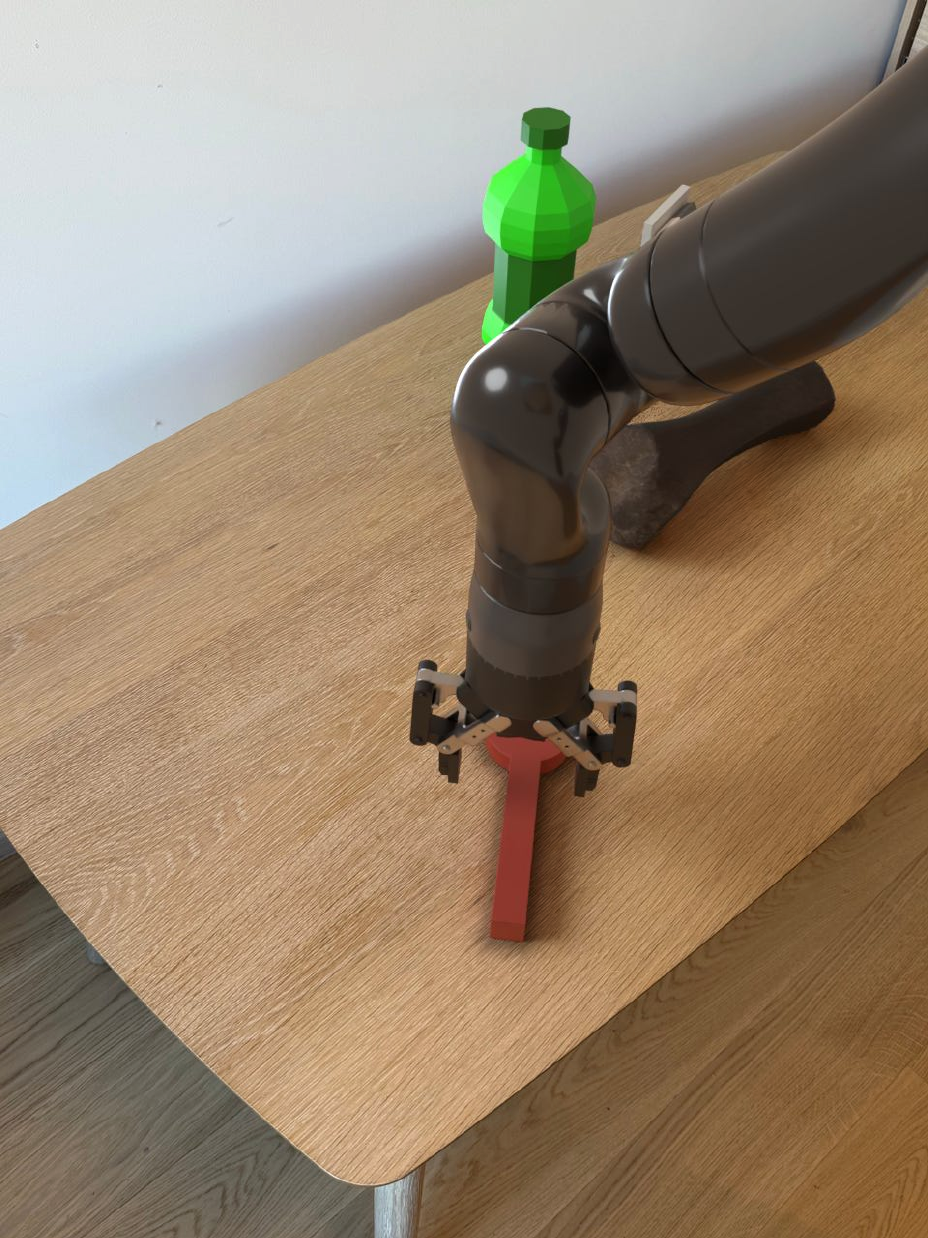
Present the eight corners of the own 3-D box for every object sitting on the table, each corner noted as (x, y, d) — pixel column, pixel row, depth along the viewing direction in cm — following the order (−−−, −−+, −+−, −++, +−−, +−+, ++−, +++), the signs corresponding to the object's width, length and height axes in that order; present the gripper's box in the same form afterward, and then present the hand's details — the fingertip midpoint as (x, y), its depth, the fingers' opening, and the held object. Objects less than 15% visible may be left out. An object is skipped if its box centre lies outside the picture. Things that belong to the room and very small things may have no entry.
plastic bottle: (597, 359, 113) (630, 118, 95) (529, 404, 108) (549, 159, 90) (526, 319, 118) (543, 80, 99) (457, 360, 113) (461, 117, 94)
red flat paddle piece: (554, 946, 72) (558, 928, 70) (457, 933, 72) (458, 916, 70) (572, 710, 84) (576, 689, 82) (489, 700, 85) (491, 680, 83)
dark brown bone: (603, 575, 96) (792, 469, 111) (671, 525, 87) (866, 417, 102) (537, 471, 97) (733, 379, 112) (598, 412, 88) (802, 320, 103)
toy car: (836, 199, 116) (798, 248, 110) (813, 282, 124) (775, 332, 117) (681, 154, 122) (635, 197, 116) (667, 235, 130) (623, 280, 123)
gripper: (657, 587, 65) (622, 745, 77) (418, 563, 66) (420, 723, 78) (657, 687, 60) (619, 839, 72) (399, 659, 61) (404, 815, 73)
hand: (516, 779), depth 75 cm, fingers open, 8 cm apart
